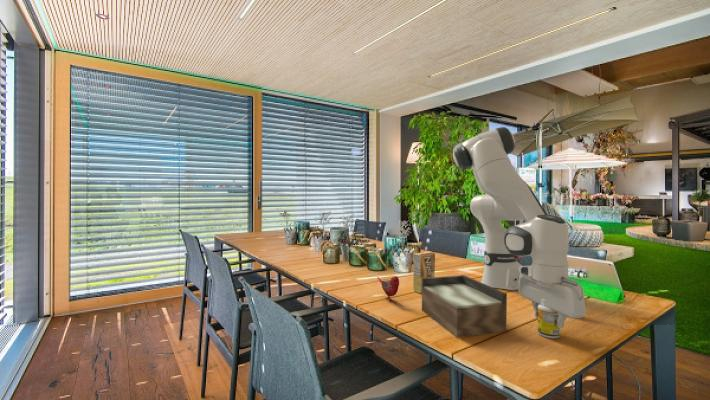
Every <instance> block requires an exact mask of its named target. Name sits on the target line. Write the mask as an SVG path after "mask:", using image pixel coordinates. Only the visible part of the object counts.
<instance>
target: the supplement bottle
mask: <svg viewBox="0 0 710 400" xmlns="http://www.w3.org/2000/svg"><path fill="white" fill-rule="evenodd" d="M541 304H542V305H541ZM541 304H539V305H538V318H537V334H538V335H540V336H542V337H544V338H547V339H558V338H560V337H561V328H558V327H556V326H555V325H554V324H555V323H554V320H557V319H558V318H559V316H558V315H557V314H558V312H557V311H555V310H553V309H550V308H548V307H546V305H545V304H546V300H544V299H542V302H541Z"/></svg>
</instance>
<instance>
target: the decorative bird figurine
mask: <svg viewBox="0 0 710 400" xmlns="http://www.w3.org/2000/svg"><path fill="white" fill-rule="evenodd" d="M377 279H378V281H379V282H380V284H381V288H382V290H383V291H384V293H385V294H386V295H387V297H386V299H387V300H389V301H390V302H394V300H393V299H392V298H391V297H394V296H396V295H397V293H398V290H399V286H400V279H399V277H398V276H396V275H395V276H392V277H391V278H390V279H386V280H382V279H381V278H380V277H379V276H377Z"/></svg>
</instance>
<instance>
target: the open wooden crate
mask: <svg viewBox="0 0 710 400" xmlns="http://www.w3.org/2000/svg"><path fill="white" fill-rule="evenodd" d="M507 295H508V294H507V293H506V292H504V291H501V290H499V289H498V288H493V287H490V286H488V285H486V284H483V283H481V281H479V280H476V279H474V278H472V277H469V276H467V275H465V274H462V275H448V276H436V277H431V278H422V293H421V311H422V312H423V313H425V315H427V316H428V317H429V318H431V319H432V320H433V321H435V322H436V323H437V324H439V325H440V326H442V327H443V328H444V329H445V330H447V331H448V332H449V333H451V334H452V336H454V337H456V338H463V337H470V336H481V335H486V334H487V335H489V334H495V333H503V332H507V314H508V313H507V310H508V309H507V304H508V303H507V302H508V301H507V298H508V297H507Z"/></svg>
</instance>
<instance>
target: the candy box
mask: <svg viewBox="0 0 710 400" xmlns="http://www.w3.org/2000/svg"><path fill="white" fill-rule="evenodd" d="M435 266H436V253H435V252H433V251H423V252H417V253H413V276H412V277H413V279H412V281H413V282H412V283H413V284H412V285H413V287H412V291H413V292H414V293H415V292H416V293H419V294H422V278H431V277H435V275H436V274H435V271H436V268H435Z"/></svg>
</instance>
